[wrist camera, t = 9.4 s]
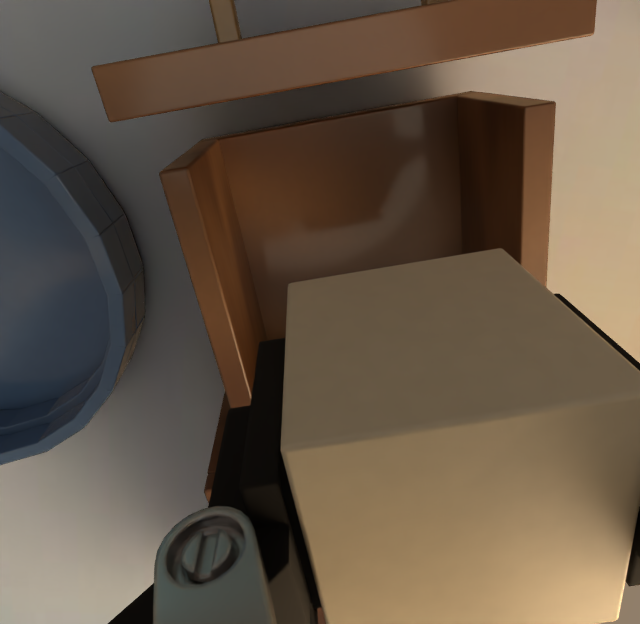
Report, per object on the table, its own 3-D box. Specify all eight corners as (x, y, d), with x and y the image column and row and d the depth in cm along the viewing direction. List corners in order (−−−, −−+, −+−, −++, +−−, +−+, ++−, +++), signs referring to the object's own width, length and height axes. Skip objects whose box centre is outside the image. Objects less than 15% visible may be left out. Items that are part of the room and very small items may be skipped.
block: (321, 444, 12) (334, 662, 8) (287, 281, 10) (278, 449, 6) (500, 417, 12) (620, 623, 8) (502, 245, 10) (665, 389, 6)
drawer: (120, -87, 15) (2, -191, 9) (487, -158, 15) (623, -317, 9) (258, 416, 24) (247, 534, 18) (490, 378, 24) (558, 486, 18)
